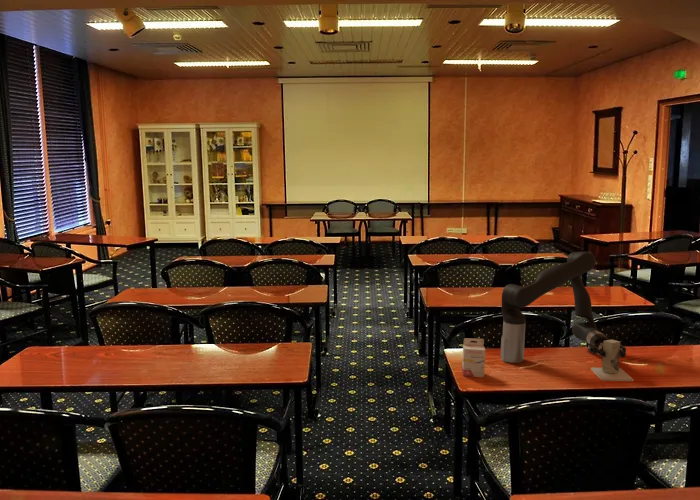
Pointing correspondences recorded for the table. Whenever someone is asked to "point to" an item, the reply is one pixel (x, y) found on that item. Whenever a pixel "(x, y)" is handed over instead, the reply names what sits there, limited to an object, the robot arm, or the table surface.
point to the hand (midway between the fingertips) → (614, 355)
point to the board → (612, 375)
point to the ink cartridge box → (473, 358)
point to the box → (611, 356)
